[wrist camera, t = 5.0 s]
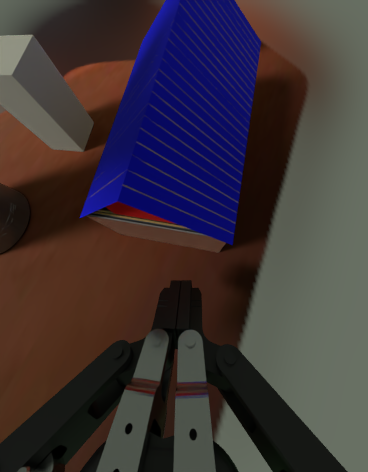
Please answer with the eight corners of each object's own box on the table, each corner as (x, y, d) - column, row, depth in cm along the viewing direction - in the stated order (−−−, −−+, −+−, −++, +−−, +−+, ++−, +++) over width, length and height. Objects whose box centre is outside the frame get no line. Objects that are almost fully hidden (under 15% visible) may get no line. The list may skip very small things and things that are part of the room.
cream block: (52, 149, 24) (-35, 74, 15) (63, 121, 25) (-12, 36, 16) (83, 151, 23) (11, 75, 14) (94, 122, 24) (33, 34, 15)
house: (119, 237, 20) (7, 184, 8) (158, 104, 24) (119, -51, 12) (221, 256, 18) (255, 222, 7) (243, 109, 22) (288, -64, 11)
